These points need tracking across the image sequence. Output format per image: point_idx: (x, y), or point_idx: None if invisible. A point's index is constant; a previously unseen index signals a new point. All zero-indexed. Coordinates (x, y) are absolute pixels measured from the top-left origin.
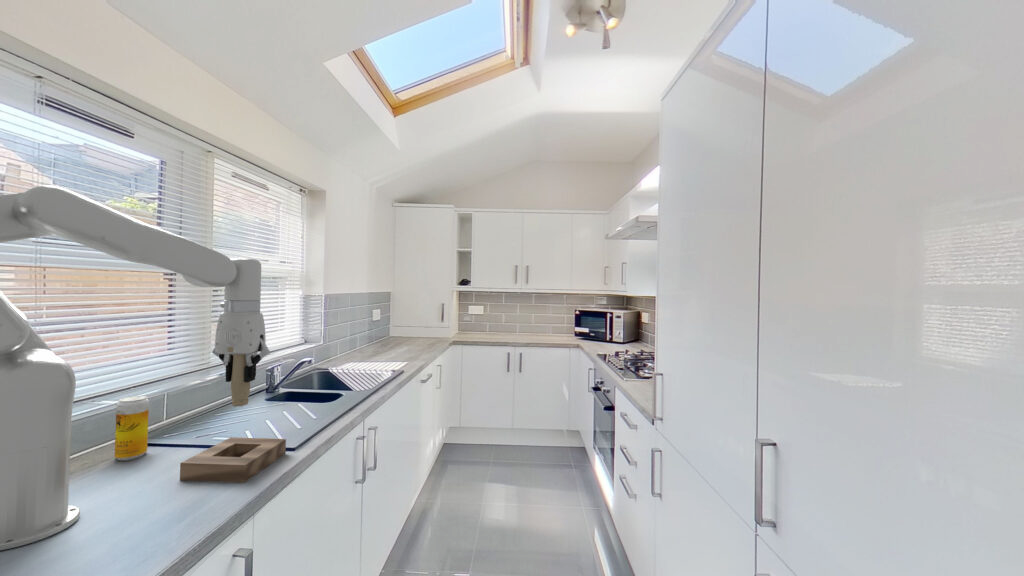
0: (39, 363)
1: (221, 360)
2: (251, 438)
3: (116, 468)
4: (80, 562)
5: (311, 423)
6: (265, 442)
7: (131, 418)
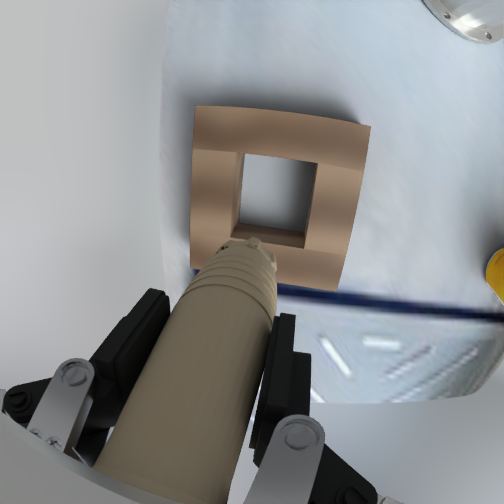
0: None
1: (350, 466)
2: (279, 279)
3: (501, 211)
4: None
5: None
6: None
7: None
